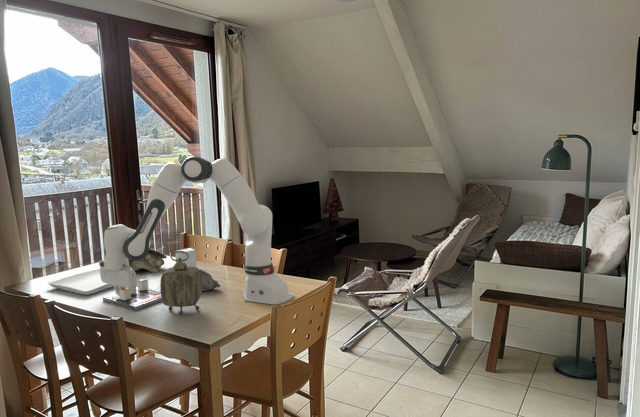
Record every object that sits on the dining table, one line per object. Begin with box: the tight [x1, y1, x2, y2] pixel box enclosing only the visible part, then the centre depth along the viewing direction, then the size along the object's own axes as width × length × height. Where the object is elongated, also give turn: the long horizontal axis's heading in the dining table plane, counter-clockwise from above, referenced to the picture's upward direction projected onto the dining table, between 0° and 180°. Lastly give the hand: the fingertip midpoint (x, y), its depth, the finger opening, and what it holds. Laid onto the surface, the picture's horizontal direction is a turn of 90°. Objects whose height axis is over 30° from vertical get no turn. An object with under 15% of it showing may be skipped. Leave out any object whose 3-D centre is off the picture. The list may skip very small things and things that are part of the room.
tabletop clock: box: [159, 250, 203, 316], centre depth 189 cm, size 14×9×25 cm, turn 92°
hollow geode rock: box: [129, 248, 168, 274], centre depth 254 cm, size 28×13×15 cm
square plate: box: [47, 268, 114, 296], centre depth 228 cm, size 27×27×4 cm
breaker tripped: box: [120, 288, 131, 300], centre depth 201 cm, size 3×3×4 cm
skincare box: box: [174, 247, 197, 268], centre depth 236 cm, size 8×6×15 cm
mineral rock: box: [199, 269, 221, 292], centre depth 218 cm, size 13×11×10 cm
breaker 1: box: [130, 286, 137, 294], centre depth 209 cm, size 3×3×4 cm
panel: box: [102, 286, 163, 312], centre depth 207 cm, size 22×18×2 cm
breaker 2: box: [137, 278, 149, 291], centre depth 214 cm, size 3×3×4 cm
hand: (119, 295), depth 204 cm, fingers closed
